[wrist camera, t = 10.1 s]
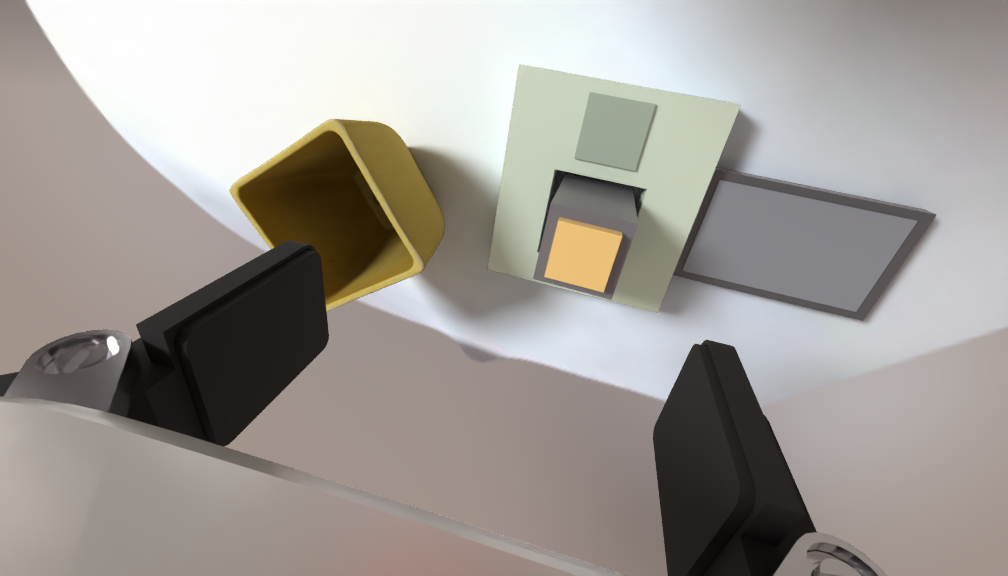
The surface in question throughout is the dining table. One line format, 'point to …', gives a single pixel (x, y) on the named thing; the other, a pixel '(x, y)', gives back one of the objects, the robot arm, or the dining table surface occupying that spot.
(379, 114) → the dining table surface
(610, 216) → the block
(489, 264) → the outlet plate
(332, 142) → the flower pot
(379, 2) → the dining table surface
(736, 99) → the dining table surface
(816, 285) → the phone slab
